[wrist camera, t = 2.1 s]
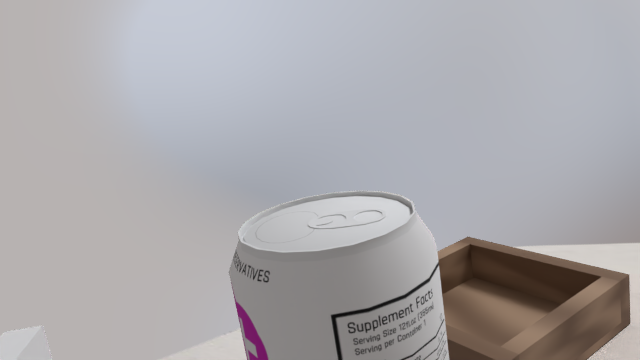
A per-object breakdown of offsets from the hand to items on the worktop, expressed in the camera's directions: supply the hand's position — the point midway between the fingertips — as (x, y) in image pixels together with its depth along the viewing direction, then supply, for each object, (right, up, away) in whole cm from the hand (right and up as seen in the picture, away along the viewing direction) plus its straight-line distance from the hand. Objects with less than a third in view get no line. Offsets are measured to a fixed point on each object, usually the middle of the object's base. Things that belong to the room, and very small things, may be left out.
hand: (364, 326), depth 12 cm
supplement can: (+2, -13, +13) cm, 19 cm away
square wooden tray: (+11, -8, +27) cm, 31 cm away
